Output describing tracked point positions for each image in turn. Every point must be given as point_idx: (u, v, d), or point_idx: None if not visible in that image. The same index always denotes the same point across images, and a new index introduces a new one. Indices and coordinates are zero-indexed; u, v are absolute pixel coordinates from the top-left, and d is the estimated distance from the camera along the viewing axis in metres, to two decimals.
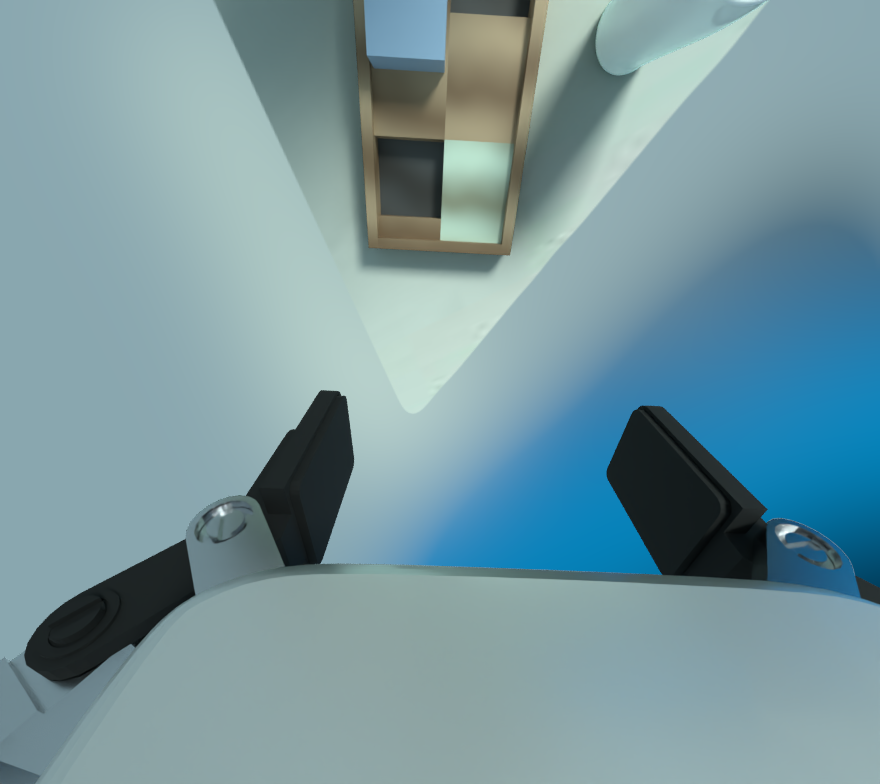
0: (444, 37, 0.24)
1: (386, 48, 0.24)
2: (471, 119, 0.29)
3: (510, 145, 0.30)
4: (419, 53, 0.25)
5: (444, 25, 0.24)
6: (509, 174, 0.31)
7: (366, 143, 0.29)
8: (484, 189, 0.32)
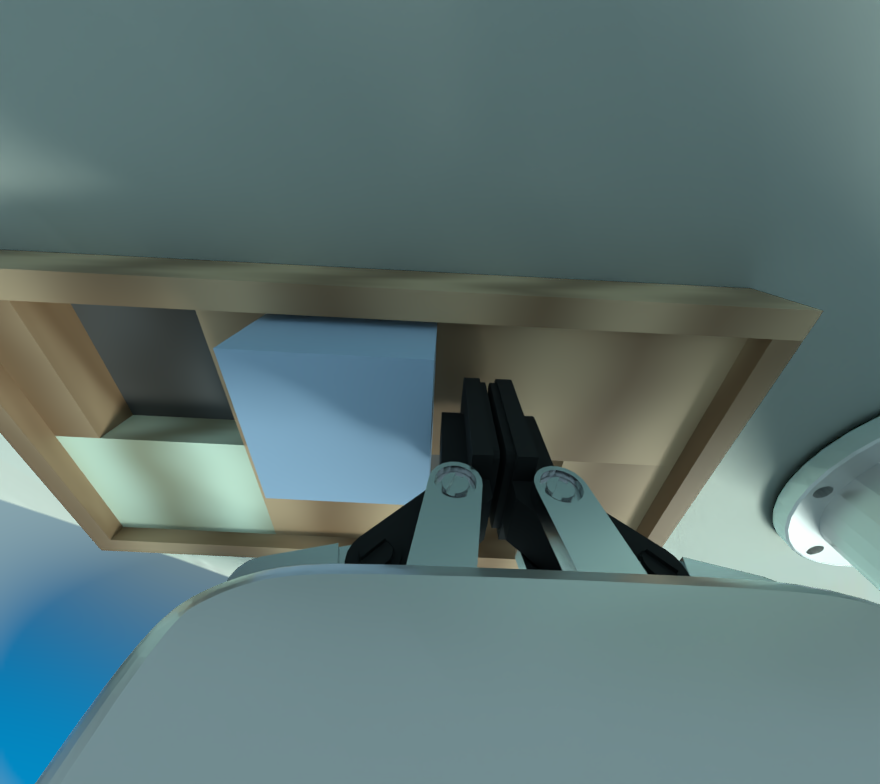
0: (299, 496, 0.12)
1: (244, 396, 0.10)
2: None
3: (272, 530, 0.18)
4: (260, 459, 0.11)
5: (315, 498, 0.12)
6: (232, 532, 0.18)
7: (145, 288, 0.10)
8: (194, 503, 0.17)
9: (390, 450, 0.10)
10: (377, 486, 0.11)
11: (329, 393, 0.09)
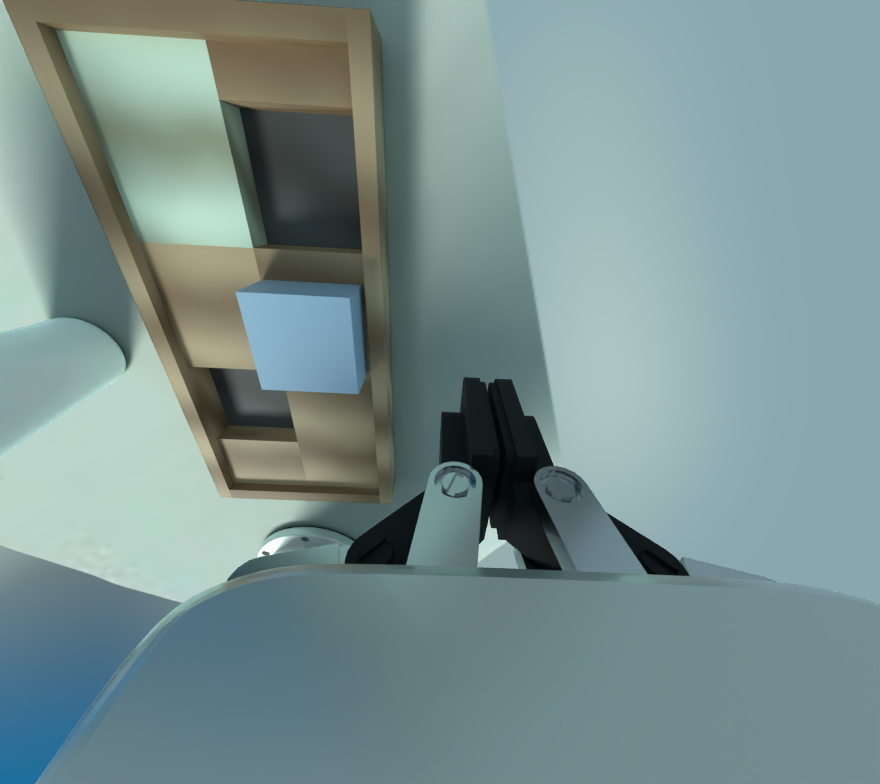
0: (243, 314, 0.18)
1: (321, 304, 0.17)
2: (220, 273, 0.19)
3: (144, 239, 0.18)
4: (273, 299, 0.17)
5: (246, 325, 0.18)
6: (120, 193, 0.17)
7: (372, 243, 0.18)
8: (153, 165, 0.17)
9: (301, 373, 0.19)
10: (270, 363, 0.19)
11: (332, 348, 0.19)
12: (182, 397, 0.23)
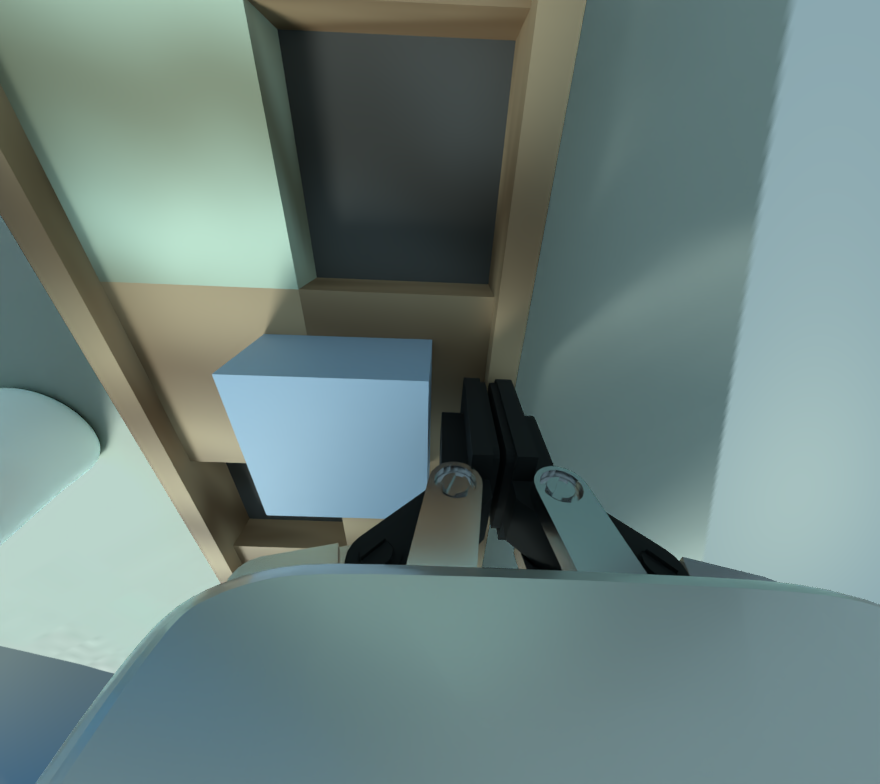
0: (229, 410, 0.10)
1: (374, 393, 0.09)
2: (240, 331, 0.11)
3: (108, 277, 0.10)
4: (284, 385, 0.09)
5: (236, 427, 0.10)
6: (58, 197, 0.09)
7: (521, 281, 0.10)
8: (115, 142, 0.09)
9: (332, 493, 0.11)
10: (279, 481, 0.11)
11: (389, 459, 0.10)
12: (182, 505, 0.15)
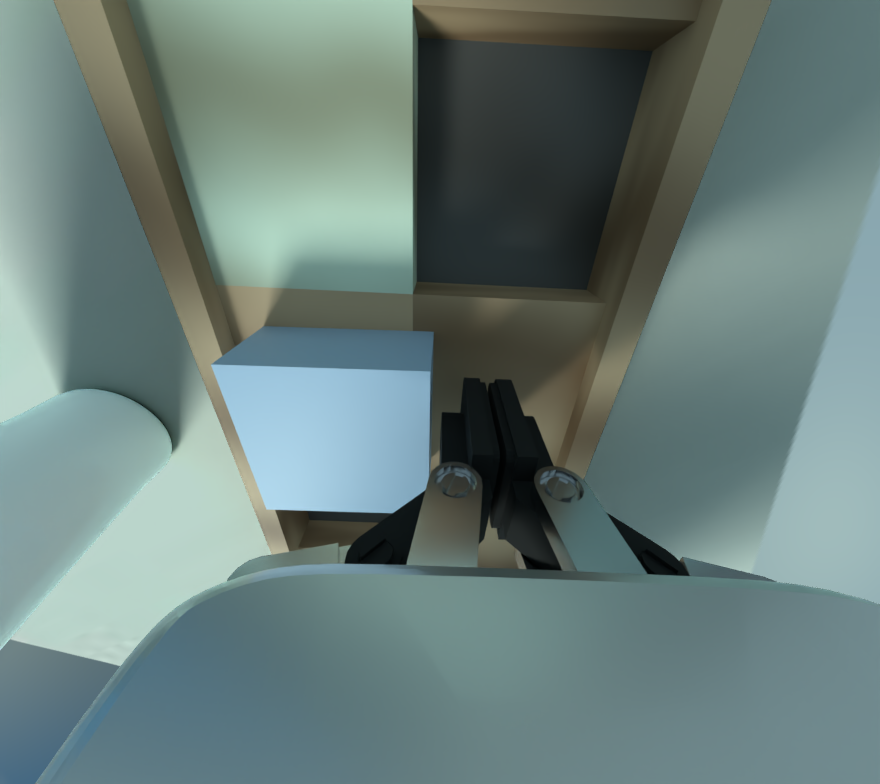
0: (229, 401, 0.09)
1: (375, 383, 0.09)
2: None
3: (225, 280, 0.11)
4: (284, 376, 0.09)
5: (235, 419, 0.10)
6: (191, 201, 0.09)
7: (645, 288, 0.10)
8: (258, 148, 0.09)
9: (332, 487, 0.11)
10: (279, 475, 0.11)
11: (390, 452, 0.10)
12: (261, 507, 0.15)
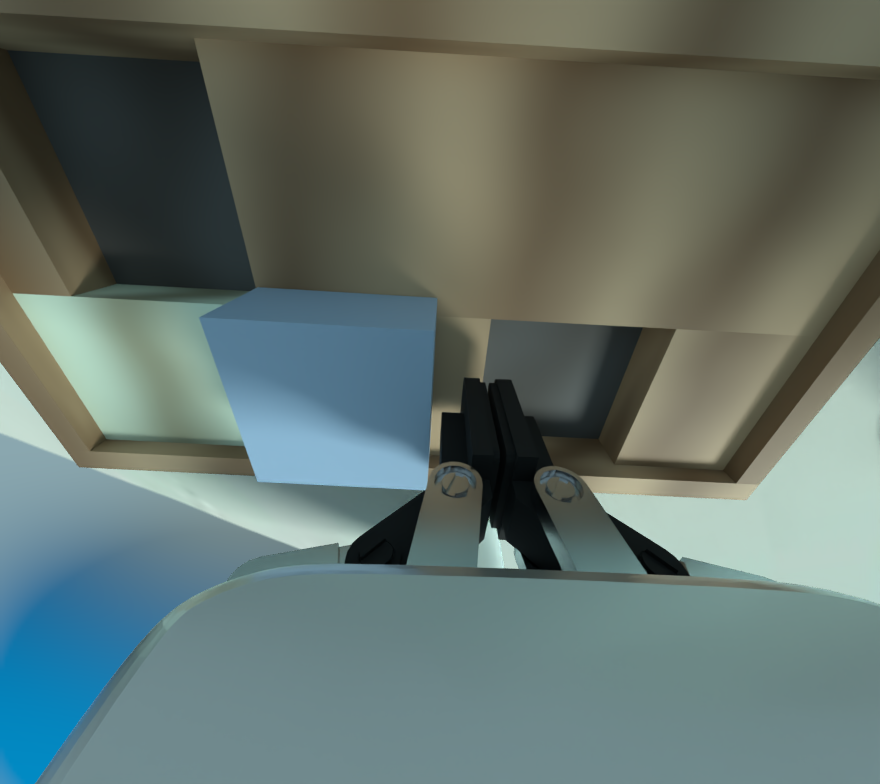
0: (293, 480, 0.11)
1: (233, 371, 0.09)
2: None
3: None
4: (251, 440, 0.10)
5: (309, 482, 0.11)
6: (242, 445, 0.14)
7: None
8: (194, 401, 0.13)
9: (388, 430, 0.10)
10: (374, 469, 0.11)
11: (323, 367, 0.09)
12: None
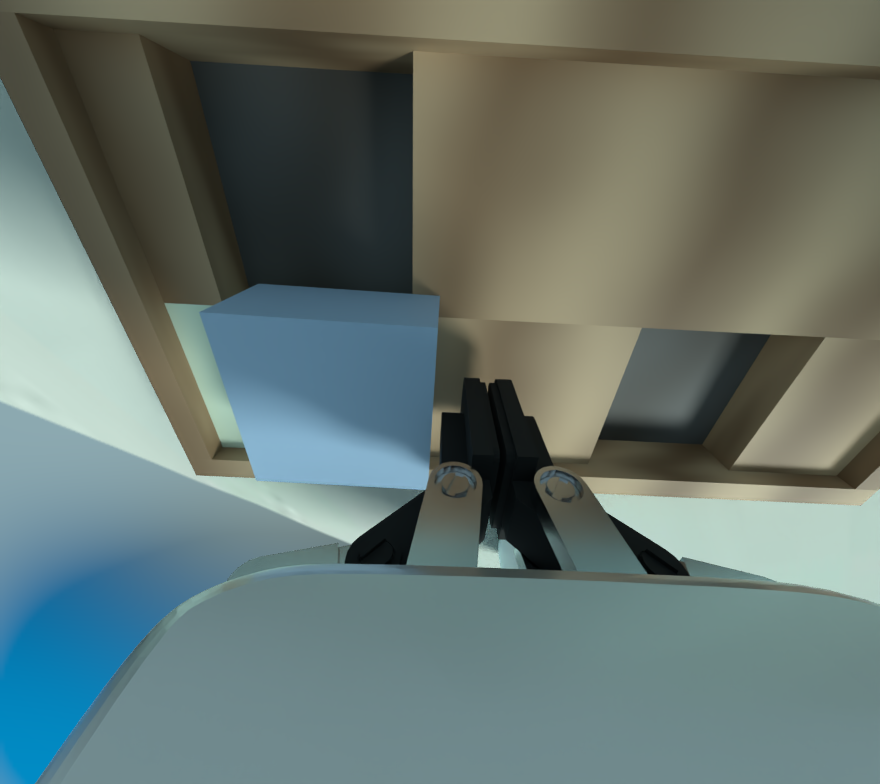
0: (292, 479, 0.11)
1: (233, 367, 0.09)
2: (452, 377, 0.12)
3: None
4: (250, 437, 0.10)
5: (309, 481, 0.11)
6: None
7: None
8: None
9: (389, 428, 0.10)
10: (374, 468, 0.11)
11: (325, 364, 0.09)
12: (637, 488, 0.14)
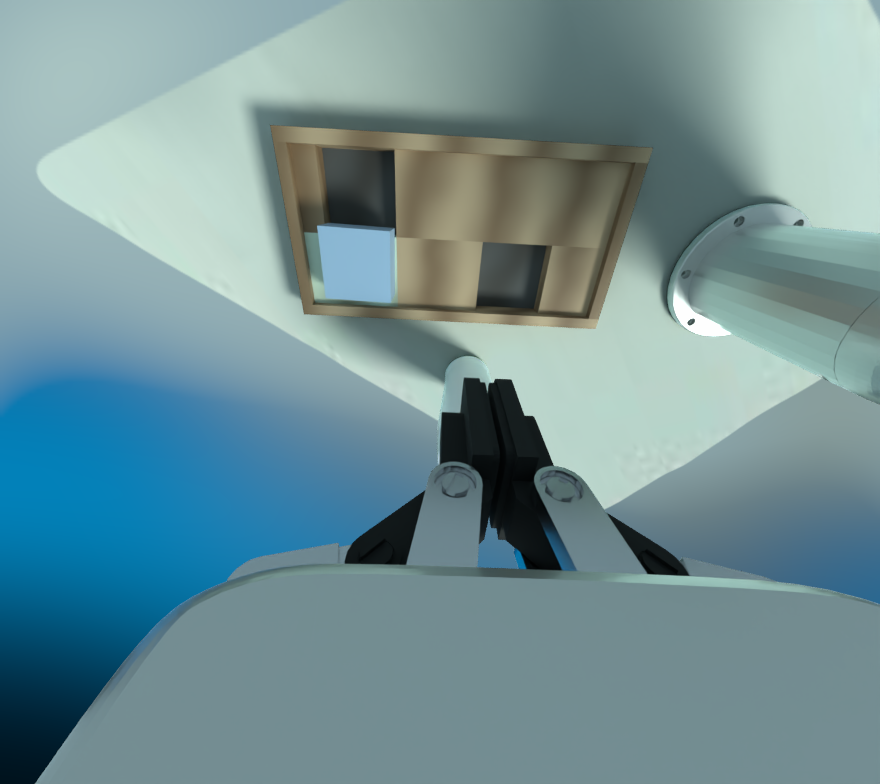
0: (339, 298, 0.30)
1: (324, 246, 0.27)
2: (413, 265, 0.31)
3: (396, 303, 0.33)
4: (326, 276, 0.29)
5: (345, 298, 0.30)
6: (374, 305, 0.33)
7: (384, 138, 0.25)
8: None
9: (375, 272, 0.28)
10: (370, 291, 0.29)
11: (354, 244, 0.27)
12: (495, 320, 0.33)
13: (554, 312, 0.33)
